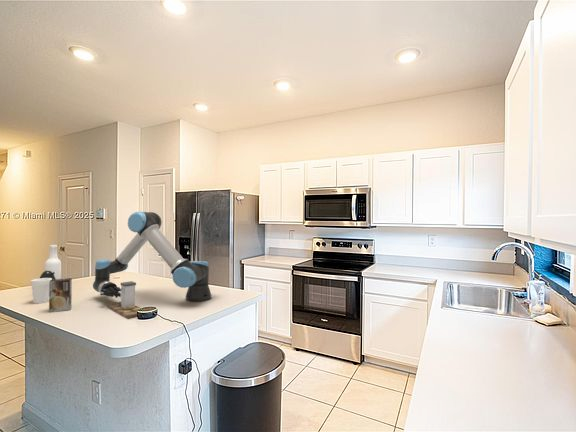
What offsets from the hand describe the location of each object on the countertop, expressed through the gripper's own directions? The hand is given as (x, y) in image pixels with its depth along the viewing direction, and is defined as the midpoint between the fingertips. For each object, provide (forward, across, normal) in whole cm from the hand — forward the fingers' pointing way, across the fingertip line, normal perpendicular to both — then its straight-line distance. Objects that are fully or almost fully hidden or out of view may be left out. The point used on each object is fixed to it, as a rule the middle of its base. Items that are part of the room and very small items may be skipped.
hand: (124, 295), depth 161 cm
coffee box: (-25, +22, -8) cm, 35 cm away
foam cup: (-51, +26, -8) cm, 57 cm away
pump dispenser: (-69, +20, -8) cm, 72 cm away
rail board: (+2, -1, -8) cm, 8 cm away
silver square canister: (+3, -1, -6) cm, 7 cm away
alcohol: (-84, +14, -8) cm, 85 cm away
